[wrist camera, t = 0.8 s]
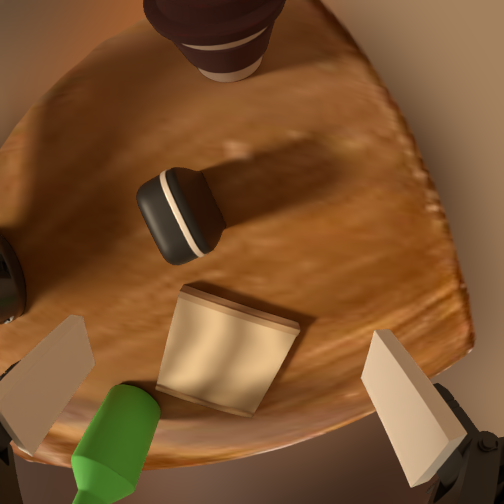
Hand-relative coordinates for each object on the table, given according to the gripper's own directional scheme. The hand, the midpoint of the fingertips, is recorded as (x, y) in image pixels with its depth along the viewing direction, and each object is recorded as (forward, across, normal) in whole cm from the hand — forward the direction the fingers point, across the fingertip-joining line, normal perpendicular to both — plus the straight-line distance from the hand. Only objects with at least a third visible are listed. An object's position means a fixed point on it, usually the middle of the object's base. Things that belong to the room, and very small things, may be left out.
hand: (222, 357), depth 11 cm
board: (+20, -2, -14) cm, 24 cm away
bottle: (+20, -16, -25) cm, 36 cm away
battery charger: (+20, -4, +4) cm, 21 cm away
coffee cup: (+20, -2, +21) cm, 29 cm away
